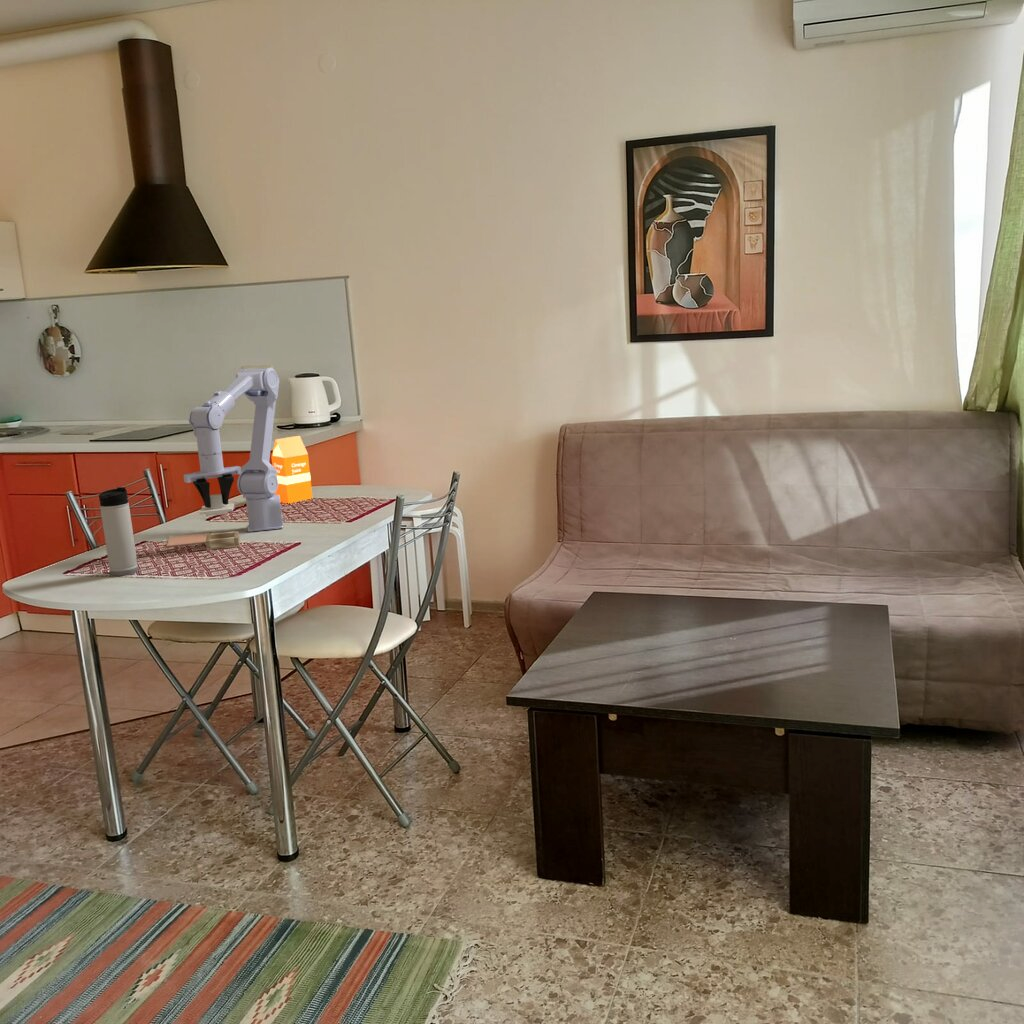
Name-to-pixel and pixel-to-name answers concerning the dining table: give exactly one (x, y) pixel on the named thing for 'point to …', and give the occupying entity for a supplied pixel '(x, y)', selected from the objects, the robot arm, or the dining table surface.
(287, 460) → the orange juice
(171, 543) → the mat
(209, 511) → the lid
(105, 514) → the travel mug
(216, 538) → the box
